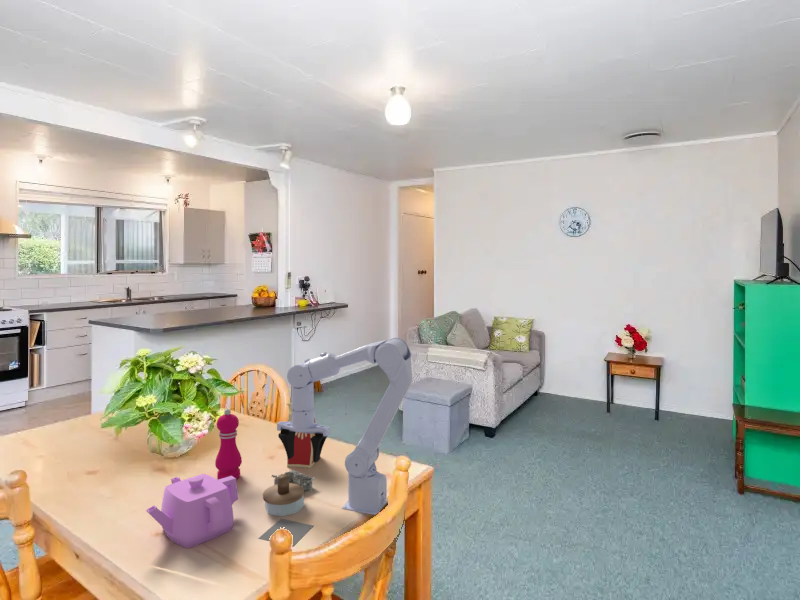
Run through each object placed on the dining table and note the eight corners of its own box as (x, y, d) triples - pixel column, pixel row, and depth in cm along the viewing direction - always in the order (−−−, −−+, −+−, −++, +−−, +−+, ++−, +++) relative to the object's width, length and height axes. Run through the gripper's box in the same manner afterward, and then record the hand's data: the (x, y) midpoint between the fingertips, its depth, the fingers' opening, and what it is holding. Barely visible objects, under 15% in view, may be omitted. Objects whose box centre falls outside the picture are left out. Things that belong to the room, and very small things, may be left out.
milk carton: (320, 456, 158) (319, 395, 157) (312, 468, 149) (311, 403, 148) (292, 455, 159) (291, 394, 158) (282, 466, 150) (281, 402, 149)
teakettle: (224, 549, 107) (222, 494, 106) (143, 552, 106) (141, 497, 105) (243, 510, 124) (242, 462, 123) (173, 512, 123) (172, 464, 122)
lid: (311, 494, 125) (311, 476, 124) (277, 509, 117) (277, 489, 117) (288, 482, 132) (288, 465, 131) (255, 495, 124) (254, 477, 124)
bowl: (309, 502, 128) (309, 489, 128) (290, 519, 119) (290, 505, 119) (279, 496, 131) (279, 484, 131) (258, 513, 122) (258, 499, 122)
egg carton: (269, 489, 136) (269, 474, 136) (290, 479, 142) (290, 465, 142) (296, 500, 130) (296, 484, 129) (317, 489, 136) (316, 475, 136)
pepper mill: (233, 483, 139) (232, 413, 137) (210, 481, 140) (208, 412, 139) (246, 472, 146) (245, 406, 144) (224, 470, 147) (222, 404, 146)
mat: (313, 527, 116) (313, 525, 116) (293, 547, 108) (293, 546, 108) (280, 520, 119) (280, 518, 119) (258, 539, 111) (258, 538, 111)
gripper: (334, 407, 130) (335, 457, 132) (286, 402, 135) (287, 450, 136) (322, 414, 124) (323, 467, 125) (272, 409, 128) (273, 460, 129)
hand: (303, 459), depth 130 cm, fingers open, 7 cm apart
